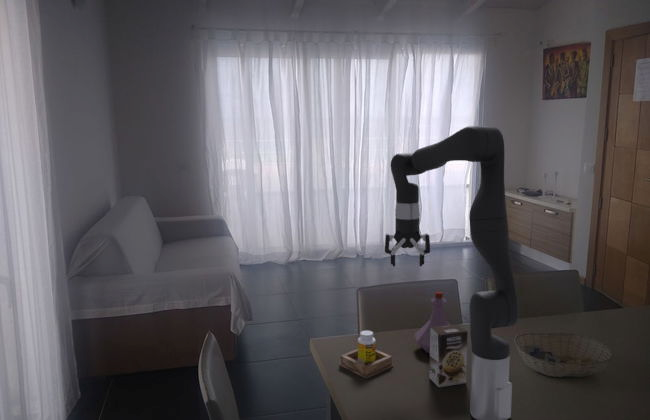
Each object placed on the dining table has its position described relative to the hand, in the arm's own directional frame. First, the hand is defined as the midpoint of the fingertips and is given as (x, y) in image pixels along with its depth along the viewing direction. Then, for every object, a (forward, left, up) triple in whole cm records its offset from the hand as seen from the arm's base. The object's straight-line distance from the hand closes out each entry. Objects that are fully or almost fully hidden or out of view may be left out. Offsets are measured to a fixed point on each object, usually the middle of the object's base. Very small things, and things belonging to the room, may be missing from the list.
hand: (407, 265), depth 164 cm
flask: (-5, -10, -30) cm, 32 cm away
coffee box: (-20, +5, -30) cm, 37 cm away
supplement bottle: (+3, +16, -30) cm, 34 cm away
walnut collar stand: (+3, +16, -30) cm, 34 cm away
